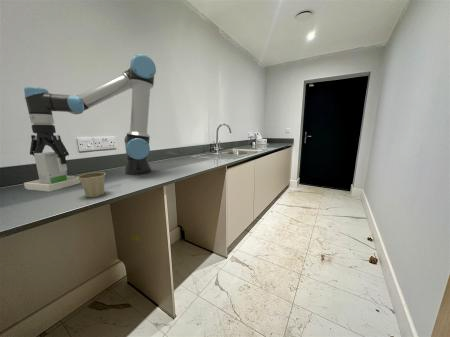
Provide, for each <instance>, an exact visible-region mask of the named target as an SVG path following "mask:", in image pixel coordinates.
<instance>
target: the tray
mask: <svg viewBox="0 0 450 337" xmlns="http://www.w3.org/2000/svg"><path fill="white" fill-rule="evenodd" d="M67 177H68V180H66V181H62V182H58V183H54V184H50V185H48V184H40V180H39V179H36V180H31V181H28V182H26V181H25V182H23V185H24V189H25V190H27V191H28V190H29V191H37V192H38V191H39V192H47V193H48V192H54V191H58V190H61V189H65V188H69V187H72V186H75V185H79V184H82V183H81V182H80V180H79V179H78V178H77V177H78V176H72V175H67Z"/></svg>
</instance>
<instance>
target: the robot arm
mask: <svg viewBox="0 0 450 337" xmlns="http://www.w3.org/2000/svg"><path fill="white" fill-rule="evenodd" d="M156 67H157V66H156V64H155V62H154V60H153V59H152V58H151V57H149V55H146V54H143V53H138V54H137V53H136V54H135V55H134V56H132V58H131V59H130V66H129V68H128V69H126V70H124V71H123V72H122V74H121V75H119V76H117V77H115V78H113V79H110V80H107V81H105V82H103V83H102V84H99V85H97V86H95V87H92V88H90V89H88V90H85V91H83V92H81V93H79V94H77V95H74V94H61V93H60V94H59V93H58V94H55V93H49V91H48V89H47V88H44V87H37V86H26V87H24V89H23V91H24V92H23V93H24V100H25V103H26V107H27V111H28V115H29V116H28V117H29V120H30V123H31V130H32V133H33V134H31V136H30V139H31V141H30V142H31V143H30V148H29V155H30V156H31V155H32V156H33V157H35V156H34V153H44V152H43V151H44V149H45V147H46V146H48V147H50V148H51V150H52V151H53V152H55V153H56V154H57V155H58V157H57V159H58V164H59V169H60V172H62V171H66V172H68V167H67V160H66V157H68V156H69V155H70V154H69V151H68V150H67V148H66V146H65V145H64V142H63V141H62V139H61V135H59V134H58V135H57V134H56V126H55V125H54V124H55V120H54V115H53V112H60V113H61V112H64V113H70V114H73V115H80V114H83V113H84V111H86V110H89V109H91V108H93V107H95V106H97V105H98V104H101V103H102V102H105V101H108V100H110V99H111V98H113V97H115V96H118V95H119V94H122V93H124V92H126V91H128V90H130V89H132V91H131V93H132V94H131V105H130V107H131V109H130V111H131V112H130V124H129V126H130V129H129V131H128V132H127V133H126V135H125V137H124V144H125V145H124V146H125V154H126V155H125V156H126V164H125V168H124V172H125V173H124V174H127V175H142V174H147V173H151V171H152V167H151V166H150V165H151V164H150V162H149V160H148V155H149V154H150V153H151V152H150V151H151V147H150V138H151V137H150V135H149V134H148V126H149V125H148V124H149V123H148V122H149V113H150V112H149V111H150V110H149V109H150V96H151V95H150V94H151V90H152V89H153V88H154V85H155V82H154V81H155V75H156V71H157V68H156ZM54 134H55V135H54Z"/></svg>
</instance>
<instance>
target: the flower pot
mask: <svg viewBox="0 0 450 337" xmlns="http://www.w3.org/2000/svg"><path fill="white" fill-rule="evenodd" d="M106 175H107V174H106V173H105V172H98V171H97V172H90V173H84V174H81V175H78V176H76V177H77V178H78V179H79V180H80V182H81V183H80V184H81V186H82V188H83V191H84V194H85V197H87V198H97V197H100V196H102V195H104V194H105V178H106Z"/></svg>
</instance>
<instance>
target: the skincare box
mask: <svg viewBox="0 0 450 337" xmlns="http://www.w3.org/2000/svg"><path fill="white" fill-rule="evenodd" d="M33 157H34V160H35V163H36V170H37V174H38V180H40V184H48V185H50V184H54V183H58V182H62V181H66V180H68V177H67V176H68V173H67V172H68V171H62V172H60V169H59V164H58V159H57V157H58V155H57V154H56V153H55V152H54V151H53V152H52V151H50V152H42V153H34V156H33Z"/></svg>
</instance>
